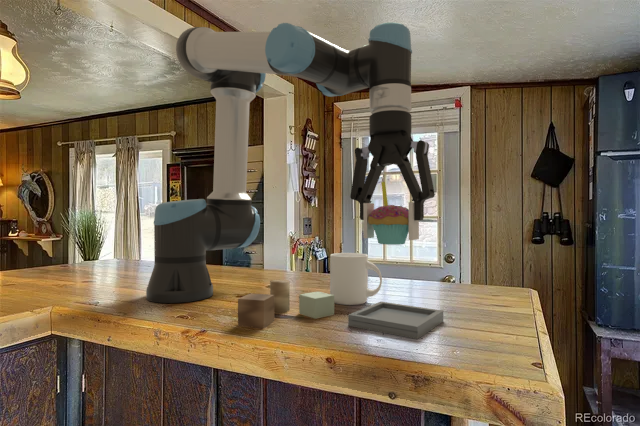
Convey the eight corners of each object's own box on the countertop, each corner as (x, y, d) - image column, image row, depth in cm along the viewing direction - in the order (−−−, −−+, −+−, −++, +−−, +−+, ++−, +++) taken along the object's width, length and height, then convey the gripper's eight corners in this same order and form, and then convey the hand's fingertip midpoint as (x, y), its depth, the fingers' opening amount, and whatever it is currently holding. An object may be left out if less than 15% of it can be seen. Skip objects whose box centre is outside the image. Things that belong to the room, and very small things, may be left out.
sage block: (299, 314, 80) (299, 294, 80) (318, 310, 84) (318, 291, 84) (314, 319, 77) (315, 298, 77) (334, 315, 80) (334, 295, 80)
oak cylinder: (266, 310, 83) (266, 281, 82) (278, 307, 86) (278, 279, 86) (280, 313, 80) (281, 283, 80) (293, 309, 84) (293, 281, 83)
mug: (376, 308, 85) (377, 258, 85) (324, 303, 89) (324, 255, 89) (386, 300, 93) (386, 254, 93) (337, 296, 97) (337, 252, 97)
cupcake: (383, 246, 67) (383, 174, 67) (359, 242, 75) (359, 178, 75) (425, 244, 70) (425, 176, 70) (398, 241, 78) (398, 180, 78)
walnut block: (237, 326, 71) (237, 298, 71) (249, 319, 76) (249, 293, 76) (263, 328, 70) (263, 300, 70) (274, 321, 75) (274, 294, 75)
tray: (348, 325, 72) (348, 314, 72) (380, 311, 82) (380, 301, 82) (417, 339, 64) (417, 326, 64) (443, 321, 75) (443, 310, 75)
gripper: (330, 117, 75) (331, 237, 75) (440, 98, 63) (440, 242, 63) (351, 125, 82) (351, 235, 81) (455, 108, 69) (455, 239, 69)
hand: (390, 238), depth 72 cm, fingers closed on cupcake, 8 cm apart
